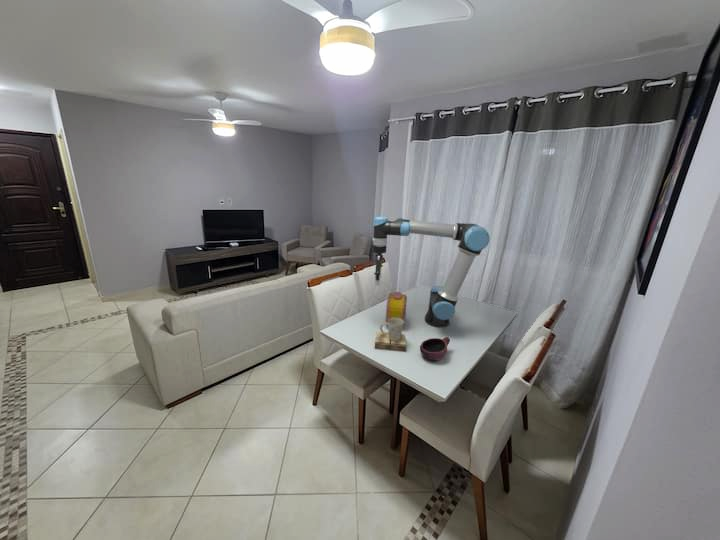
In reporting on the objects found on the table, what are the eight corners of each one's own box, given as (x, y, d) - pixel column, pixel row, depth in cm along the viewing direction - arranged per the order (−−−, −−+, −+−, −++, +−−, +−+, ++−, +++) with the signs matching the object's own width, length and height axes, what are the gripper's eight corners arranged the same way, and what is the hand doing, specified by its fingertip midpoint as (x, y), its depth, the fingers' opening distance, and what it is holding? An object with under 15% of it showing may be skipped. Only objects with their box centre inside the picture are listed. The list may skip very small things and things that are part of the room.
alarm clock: (388, 315, 177) (390, 288, 171) (405, 317, 175) (407, 290, 169) (384, 329, 160) (386, 299, 154) (403, 332, 158) (406, 301, 152)
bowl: (442, 367, 127) (444, 353, 125) (416, 359, 133) (417, 345, 131) (449, 351, 141) (451, 337, 138) (425, 343, 147) (427, 330, 144)
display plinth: (404, 340, 149) (405, 333, 148) (405, 351, 139) (406, 344, 138) (375, 337, 151) (376, 331, 150) (374, 348, 141) (374, 342, 139)
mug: (402, 343, 139) (403, 326, 136) (377, 340, 141) (378, 323, 138) (402, 335, 147) (404, 318, 144) (380, 332, 149) (381, 315, 146)
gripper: (374, 240, 161) (373, 274, 168) (371, 249, 138) (369, 288, 144) (387, 241, 161) (385, 275, 167) (385, 250, 137) (383, 289, 143)
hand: (377, 281), depth 155 cm, fingers open, 13 cm apart
